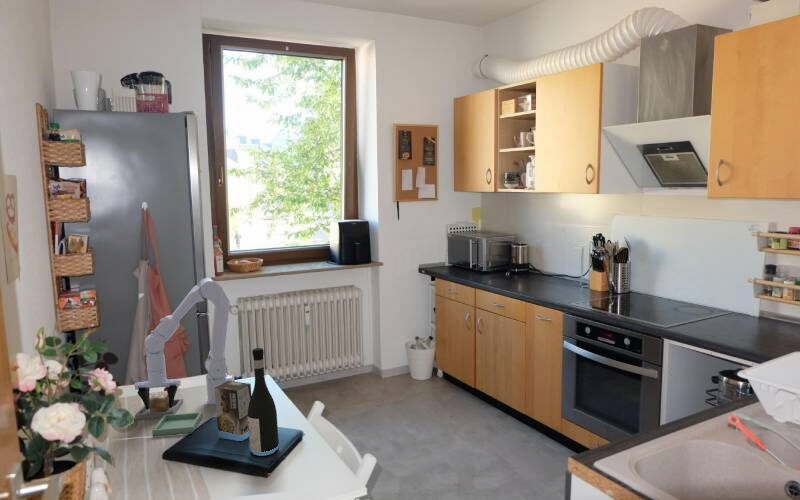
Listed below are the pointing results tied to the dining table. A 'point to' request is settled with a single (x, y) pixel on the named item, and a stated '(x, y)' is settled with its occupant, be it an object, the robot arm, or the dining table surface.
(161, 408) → the brown cardboard box
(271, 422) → the wine bottle
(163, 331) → the robot arm
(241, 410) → the coffee box
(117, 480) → the dining table surface
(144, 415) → the charcoal tray
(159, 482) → the dining table surface
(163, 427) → the green tray
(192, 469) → the dining table surface
